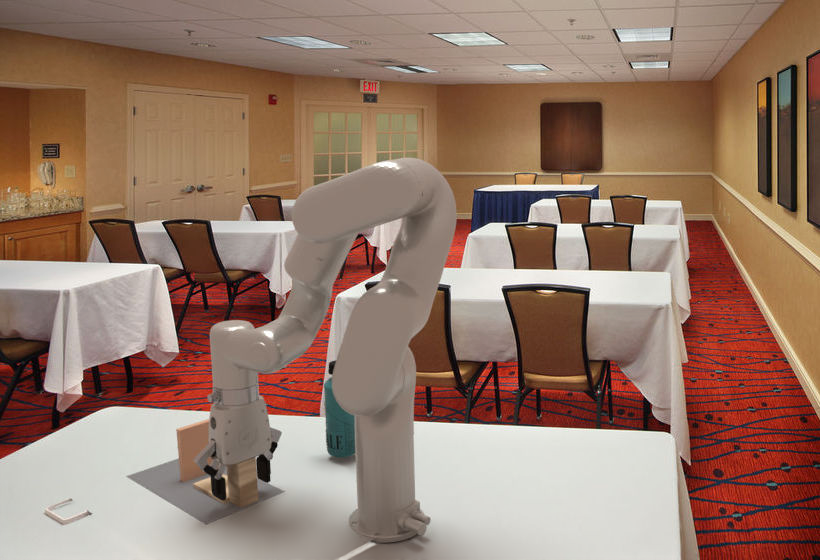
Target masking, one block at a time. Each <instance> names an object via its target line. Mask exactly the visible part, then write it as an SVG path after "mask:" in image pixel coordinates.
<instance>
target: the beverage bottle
mask: <svg viewBox="0 0 820 560" xmlns="http://www.w3.org/2000/svg"><path fill="white" fill-rule="evenodd" d="M336 360H337V359H336ZM336 360H331V361H329V362H328V371H327V372H328V374H329V375H331V377H329V378H328V379H327V380H326V381H325V382H324V383H323V388H324V389H323V391H324V402H323V404H324V405H323V406H324V416H325V424H324V425H325V436H326V437H325V444H326V446H325V447H326V451H327V454H328V455H330V456H332V457H335V458H347V457H351V456H354V455H356V453H355V415H351V414H349V413H347V412H346V411H345V410H343V409H342V408H341V407H340V405H339V404H338V403H337V401H336V399H335V397H334V394H333V390H332V375H333V370H334V366H335V363H336Z"/></svg>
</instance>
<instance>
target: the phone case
mask: <svg viewBox="0 0 820 560" xmlns="http://www.w3.org/2000/svg"><path fill="white" fill-rule="evenodd" d="M71 501H73V499H72V498H67V499H64V500H62V501H60V502H57V503H54V504H52V505H49V506H47V507H45V508H44V512H45V515H46V516H49V517H50V518H52V519H53V520H55V521H57V522H58V523H60V524H62V525H70V524H73V523H74V522H77V521H80V520H81V519H83V518H86V517H89V516H92V515H93V513H92V512H91V511H89V510H85V511H82V512H80V513H77V514H75V515H72V516H69V517H66V518H63V517H62V516H60V515H59V514H57V513H55V512H54V511H55V510H56V507H58V506H61V505H64V504H66V503H69V502H71ZM91 514H92V515H91ZM88 515H89V516H88Z"/></svg>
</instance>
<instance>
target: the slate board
mask: <svg viewBox="0 0 820 560" xmlns="http://www.w3.org/2000/svg"><path fill="white" fill-rule="evenodd" d="M223 474H225V475H227V467H226V469H225V471H224V473H223ZM209 477H211V476H210V475H208V474H204V475H202V476H199V477H196V478H193V479H191V480H188V481H185V482H183V481H181V479H180V467H179V457H178V458H175V459H173V460H170V461H167V462H164V463H161V464H158V465H156V466H152V467H149V468H146V469H144V470H143V469H142V470H140V471H137V472H135V473H132V474H129V475H126V478H127V479H130V480H131V481H132V482H135V483H137V484H138V485H140V486H141V487H142V488H145V489H146V490H147V491H150V492H151V493H153V494H155V495H156V496H158V497H160V498H161V499H163V500H165V501H167V502H168V503H170V504H172V505H173V506H175V507H176V508H178V509H180V510H181V511H183V512H185V513H186V514H188V515H189V516H191V517H193V518H194V519H196V520H198V521H200V522H202V523H203V524H205V525H209V524H211V523H214V522H216V521H218V520H220V519H221V520H222V519H223V518H226V517H227V516H230V515H233V514H235V513H237V512H240V511H242V510H245V509H247V508H249V507H252V506H254V505H257V504H260V503H261V502H264V501H267V500H268V499H271V498H274V497H275V496H278V495H280V494H283V493H285V492H286V491H285V490H283V489H281V488H279V487H277V486H275V485H273V484H271V483H269V482H268V483H266V482H264V481H262V480H260V479H258V478H257V486H258V501H256V502H253V503H251V504H248V505H246V506H244V507H239V506H237V505H235V504H233V503H232V502H228V503H225V504H223V503H221V502H219V501H218V500H216V499H214V498H212V497H210V496H209V495H207V494H205V493H203V492H201V491H200V490H198V489H196V488H194V487H193V483H196V482H199V481H201V480H204V479H207V478H209Z"/></svg>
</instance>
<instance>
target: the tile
mask: <svg viewBox="0 0 820 560" xmlns="http://www.w3.org/2000/svg"><path fill="white" fill-rule="evenodd" d="M175 432H176V438H177V439H176V441H177V453H178V458H179V467H180V479H181V481H183V482H185V481H188V480H191V479H193V478H196V477H199V476H202V475H204V474H207V473H205V472H204V471H202V470H201V469H200V467H199V466H198V465H197V464H196V462H195V461H194V458H195V457H196V456H197V455H198V454H199V453H200V452H201V451H202V450H203V449H204V448H205V447H206V445H207V444H208V443H209V418H208V419H204V420H201V421H199V422H195V423H192V424H191V423H190V424H188V425H185V426H182V427H179V428H176V431H175ZM212 460H213V459H211V457H209V458H208V459H207V463H208V464H209V466H210V464H211V462H212ZM219 464H220V463H219ZM218 466H219V465H218ZM217 468H218V467H217ZM216 470H217V469H216Z"/></svg>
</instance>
